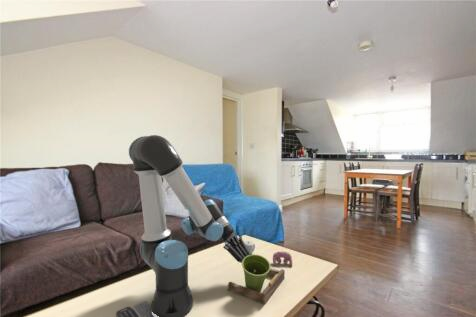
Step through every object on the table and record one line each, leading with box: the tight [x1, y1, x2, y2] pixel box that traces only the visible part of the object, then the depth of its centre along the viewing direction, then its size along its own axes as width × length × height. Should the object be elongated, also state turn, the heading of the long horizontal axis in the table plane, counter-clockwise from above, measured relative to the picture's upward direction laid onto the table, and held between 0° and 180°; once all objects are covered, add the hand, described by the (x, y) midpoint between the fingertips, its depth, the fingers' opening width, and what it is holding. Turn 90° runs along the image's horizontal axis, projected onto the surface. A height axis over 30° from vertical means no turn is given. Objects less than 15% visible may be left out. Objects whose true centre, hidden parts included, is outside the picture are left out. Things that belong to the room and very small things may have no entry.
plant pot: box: [241, 253, 272, 292], centre depth 97 cm, size 12×12×11 cm
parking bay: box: [227, 267, 285, 305], centre depth 101 cm, size 17×21×5 cm
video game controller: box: [272, 251, 293, 267], centre depth 120 cm, size 10×5×7 cm, turn 85°
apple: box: [243, 240, 256, 255], centre depth 132 cm, size 8×8×7 cm
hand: (254, 272), depth 102 cm, fingers closed
